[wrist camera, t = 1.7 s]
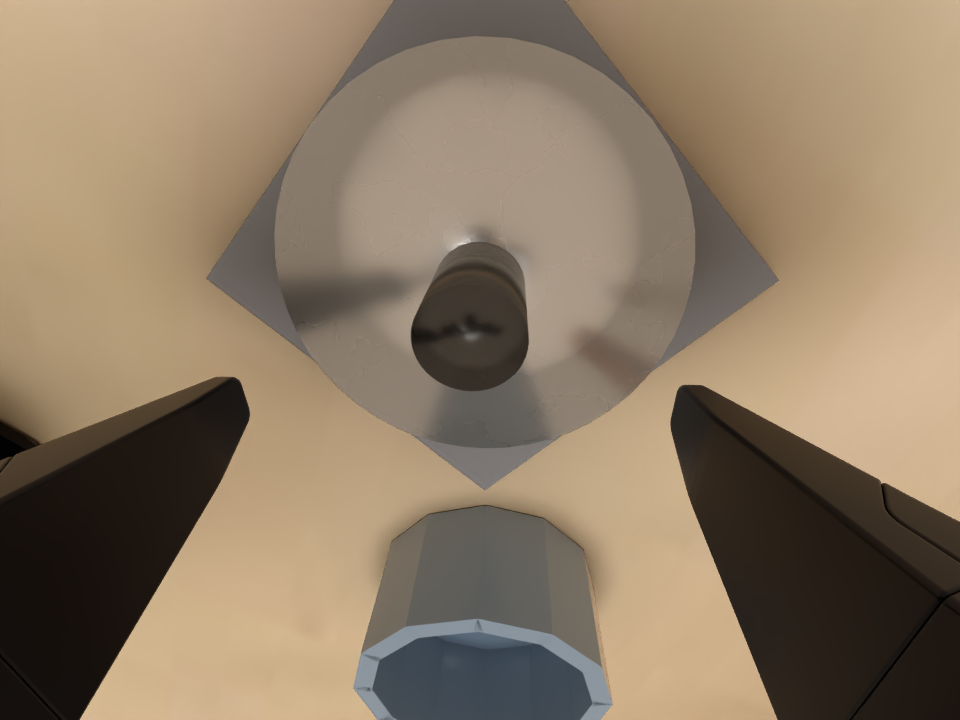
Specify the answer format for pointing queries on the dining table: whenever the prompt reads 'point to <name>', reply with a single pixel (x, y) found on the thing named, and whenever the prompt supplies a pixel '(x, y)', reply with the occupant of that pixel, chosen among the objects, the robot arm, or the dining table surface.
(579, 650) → the blue bowl
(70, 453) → the robot arm
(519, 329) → the lid
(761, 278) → the mat
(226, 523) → the dining table surface
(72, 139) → the dining table surface
